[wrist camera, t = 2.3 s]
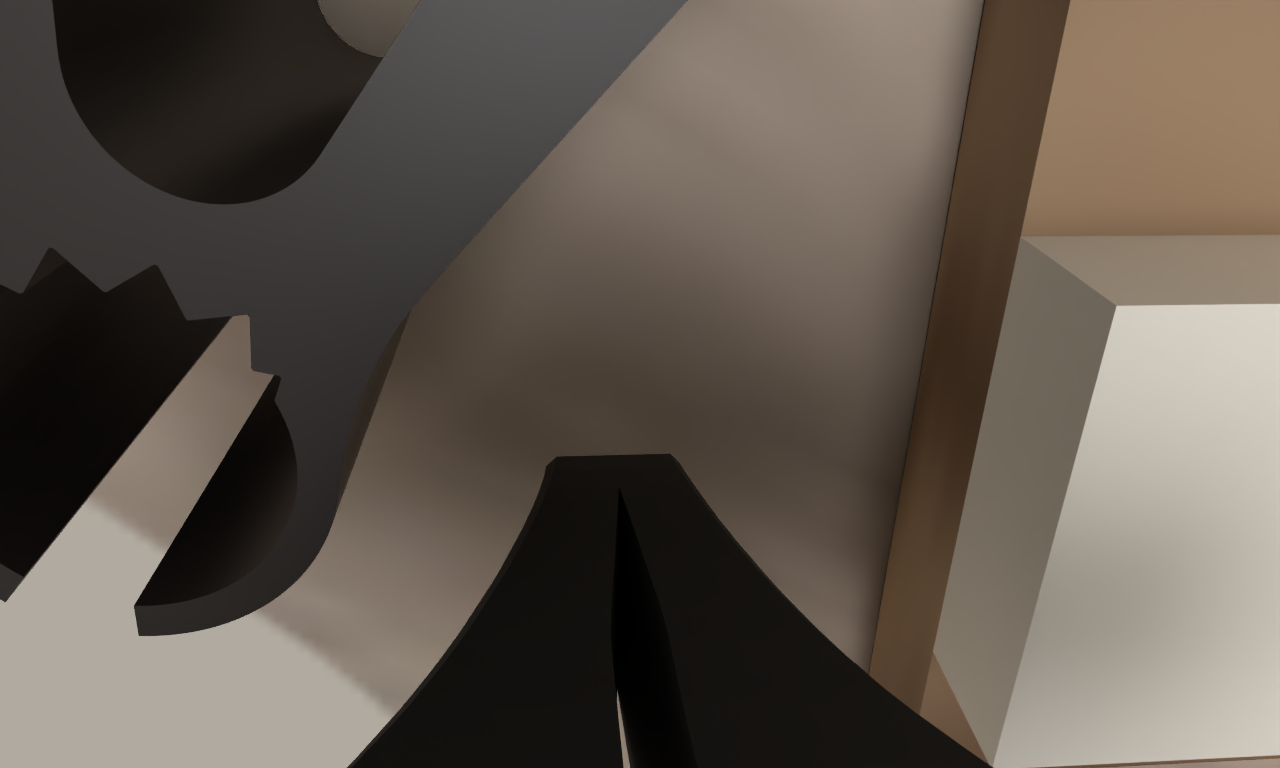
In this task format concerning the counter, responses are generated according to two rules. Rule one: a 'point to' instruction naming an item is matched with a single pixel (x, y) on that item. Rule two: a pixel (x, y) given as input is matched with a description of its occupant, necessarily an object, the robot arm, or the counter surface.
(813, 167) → the counter surface
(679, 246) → the counter surface
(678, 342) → the counter surface
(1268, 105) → the brown block
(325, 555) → the counter surface
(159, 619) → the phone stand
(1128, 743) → the cream rectangular tile
